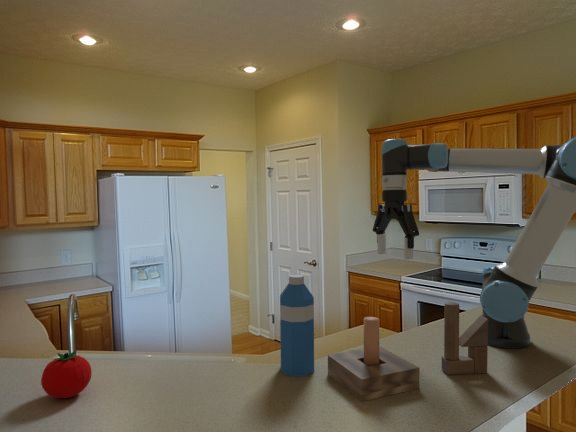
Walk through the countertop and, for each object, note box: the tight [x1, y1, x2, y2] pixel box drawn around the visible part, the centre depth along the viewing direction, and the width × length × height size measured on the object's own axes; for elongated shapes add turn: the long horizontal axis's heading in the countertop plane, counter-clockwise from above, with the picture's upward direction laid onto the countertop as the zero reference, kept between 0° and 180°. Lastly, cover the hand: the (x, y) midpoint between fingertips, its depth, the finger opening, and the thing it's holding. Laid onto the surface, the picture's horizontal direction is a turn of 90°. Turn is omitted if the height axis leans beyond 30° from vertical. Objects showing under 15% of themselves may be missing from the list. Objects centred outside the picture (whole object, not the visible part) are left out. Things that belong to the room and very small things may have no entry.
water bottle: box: [279, 274, 315, 377], centre depth 111 cm, size 9×9×25 cm
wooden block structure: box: [441, 301, 489, 376], centre depth 109 cm, size 4×11×18 cm, turn 95°
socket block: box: [327, 345, 420, 402], centre depth 104 cm, size 16×16×5 cm
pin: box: [363, 316, 380, 366], centre depth 104 cm, size 4×4×14 cm
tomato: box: [40, 350, 93, 399], centre depth 98 cm, size 10×10×10 cm
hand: (394, 256), depth 133 cm, fingers open, 13 cm apart
